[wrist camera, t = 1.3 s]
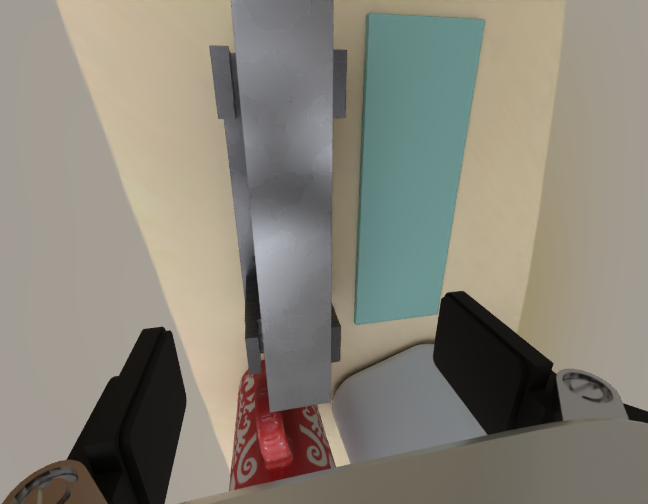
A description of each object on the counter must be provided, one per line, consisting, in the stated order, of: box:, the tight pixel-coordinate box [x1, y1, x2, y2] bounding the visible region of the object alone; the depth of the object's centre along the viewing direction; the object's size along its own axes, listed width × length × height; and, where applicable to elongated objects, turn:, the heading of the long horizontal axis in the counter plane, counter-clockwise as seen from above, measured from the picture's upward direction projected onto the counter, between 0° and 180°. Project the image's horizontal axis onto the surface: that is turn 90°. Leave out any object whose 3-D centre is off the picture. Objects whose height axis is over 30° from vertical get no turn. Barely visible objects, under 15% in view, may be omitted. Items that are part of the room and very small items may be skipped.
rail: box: [231, 0, 333, 412], centre depth 19 cm, size 22×4×4 cm, turn 0°
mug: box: [229, 360, 336, 491], centre depth 28 cm, size 13×9×14 cm
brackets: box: [209, 46, 347, 375], centre depth 23 cm, size 20×7×9 cm, turn 0°
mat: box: [354, 13, 485, 325], centre depth 29 cm, size 26×9×1 cm, turn 0°
